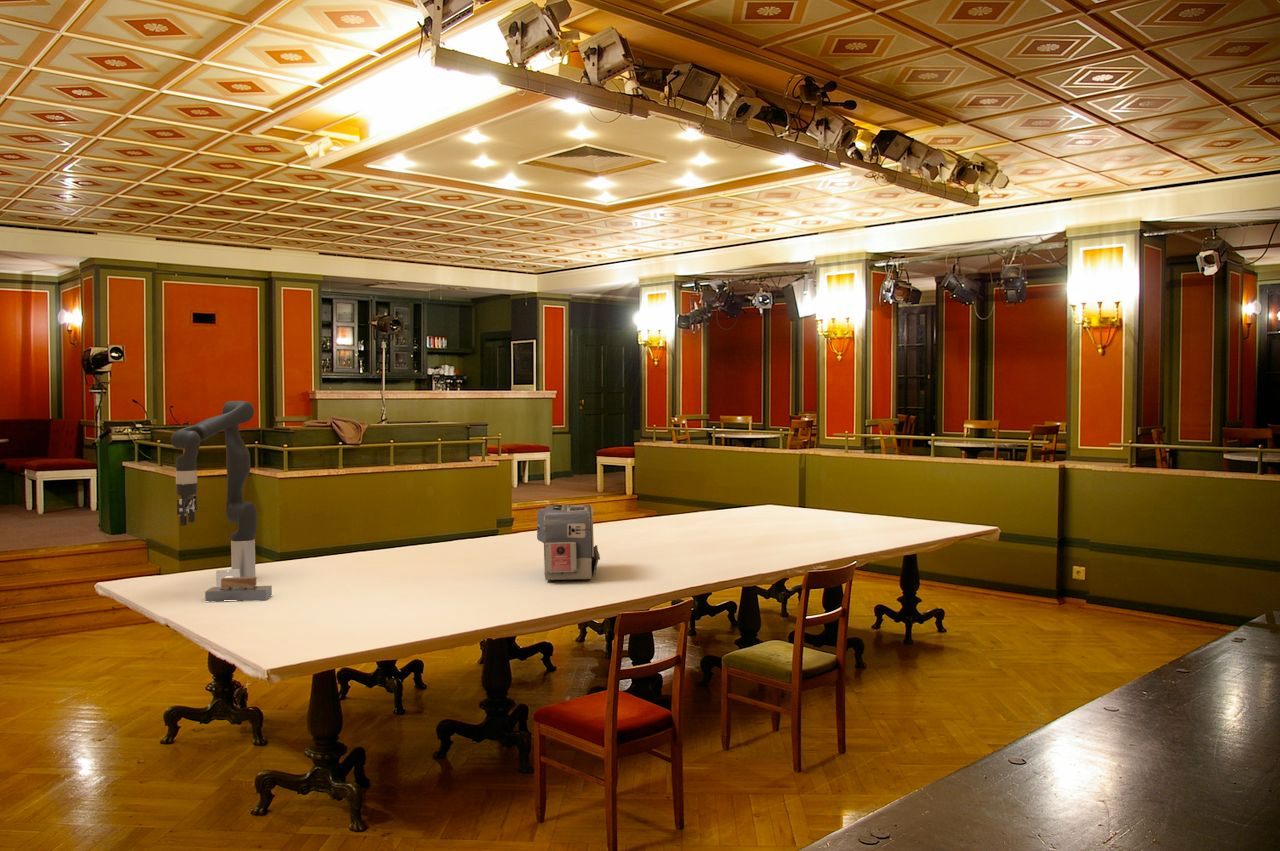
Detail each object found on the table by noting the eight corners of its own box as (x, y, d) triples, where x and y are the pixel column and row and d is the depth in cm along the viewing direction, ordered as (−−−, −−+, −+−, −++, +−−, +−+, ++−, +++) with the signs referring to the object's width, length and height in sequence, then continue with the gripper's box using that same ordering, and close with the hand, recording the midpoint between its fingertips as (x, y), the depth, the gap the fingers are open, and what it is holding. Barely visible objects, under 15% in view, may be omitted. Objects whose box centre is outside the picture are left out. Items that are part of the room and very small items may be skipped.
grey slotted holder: (212, 597, 364) (212, 587, 364) (271, 595, 367) (271, 585, 367) (205, 602, 357) (205, 591, 356) (265, 600, 359) (265, 589, 359)
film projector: (598, 585, 384) (598, 511, 383) (526, 585, 385) (525, 511, 383) (604, 567, 423) (603, 500, 422) (538, 567, 424) (538, 500, 423)
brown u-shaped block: (224, 598, 363) (223, 577, 363) (256, 597, 364) (256, 576, 364) (221, 600, 360) (221, 579, 359) (254, 599, 361) (253, 578, 361)
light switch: (217, 591, 367) (216, 568, 378) (217, 603, 370) (216, 580, 381) (240, 589, 370) (239, 566, 382) (241, 601, 373) (239, 578, 384)
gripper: (183, 480, 372) (184, 521, 373) (169, 484, 358) (170, 526, 359) (203, 480, 373) (204, 521, 374) (190, 483, 359) (191, 526, 360)
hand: (187, 523), depth 366 cm, fingers open, 8 cm apart
